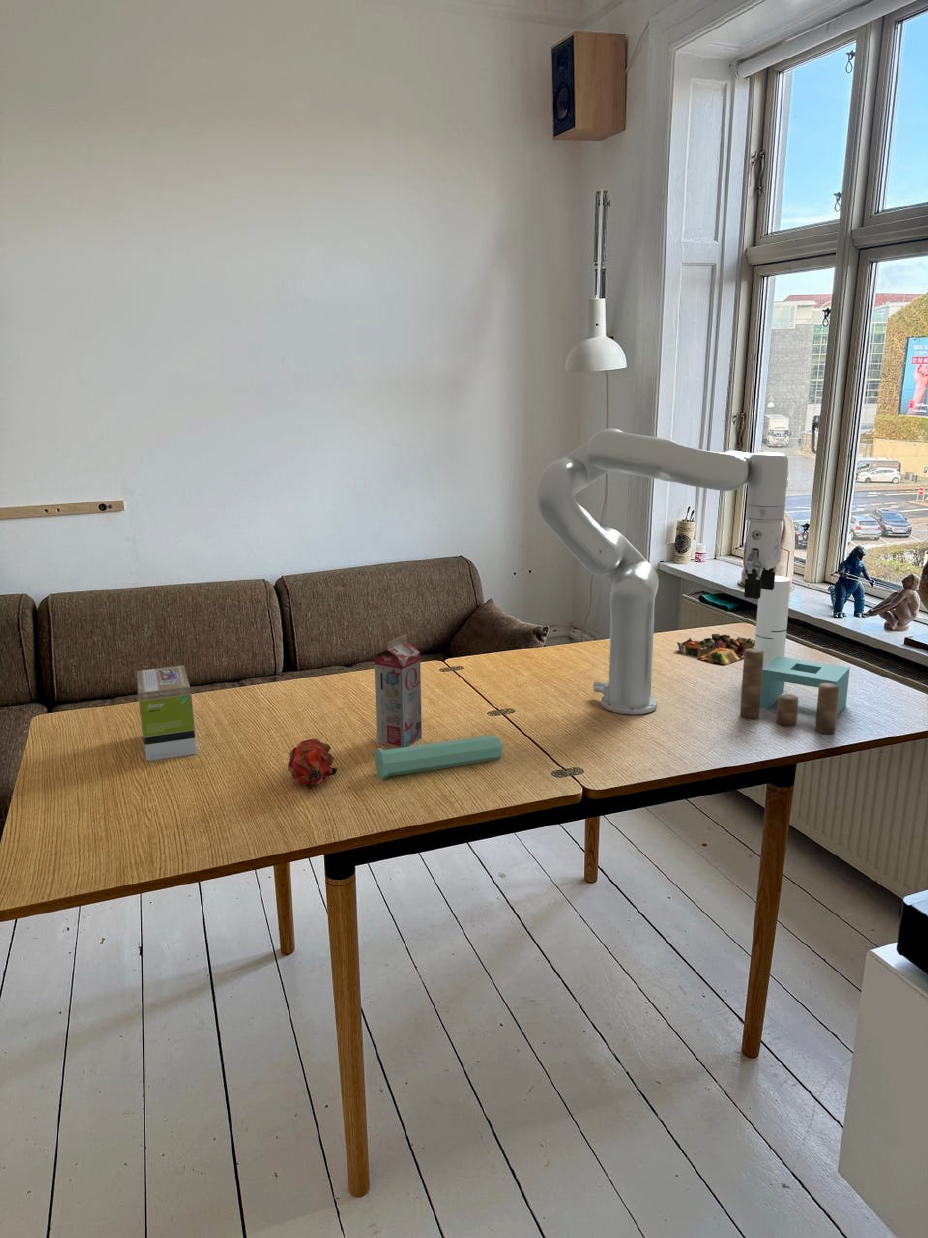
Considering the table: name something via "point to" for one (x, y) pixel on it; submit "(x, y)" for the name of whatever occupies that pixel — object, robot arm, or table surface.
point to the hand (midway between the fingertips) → (759, 593)
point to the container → (437, 755)
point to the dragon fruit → (311, 762)
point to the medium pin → (827, 708)
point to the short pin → (787, 710)
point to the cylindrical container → (772, 620)
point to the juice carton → (398, 694)
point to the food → (717, 648)
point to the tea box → (166, 713)
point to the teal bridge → (801, 678)
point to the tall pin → (751, 684)
